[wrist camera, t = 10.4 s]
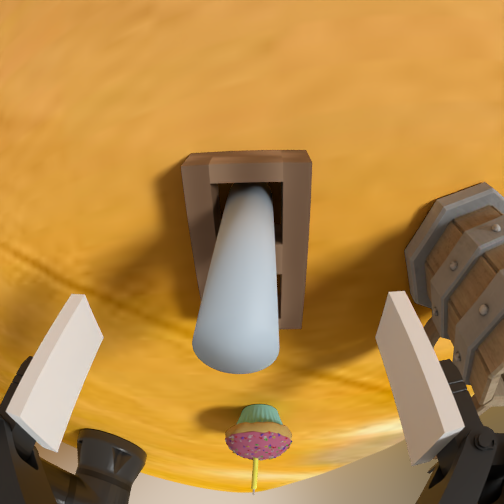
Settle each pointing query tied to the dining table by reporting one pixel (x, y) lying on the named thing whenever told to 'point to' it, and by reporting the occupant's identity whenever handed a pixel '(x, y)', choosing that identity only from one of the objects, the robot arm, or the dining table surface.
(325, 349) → the dining table surface
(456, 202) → the tankard
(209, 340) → the dowel
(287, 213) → the hole block
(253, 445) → the cupcake
